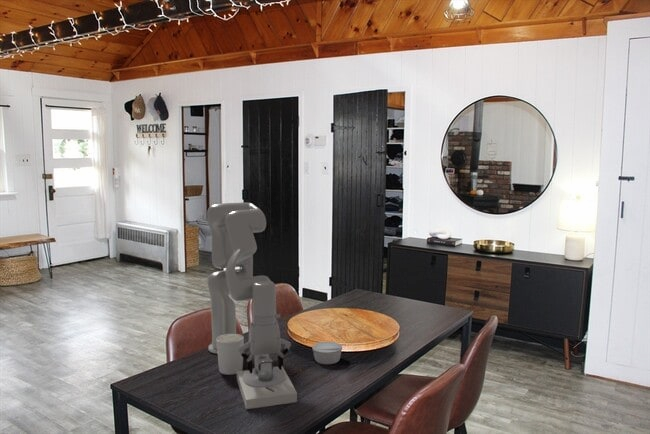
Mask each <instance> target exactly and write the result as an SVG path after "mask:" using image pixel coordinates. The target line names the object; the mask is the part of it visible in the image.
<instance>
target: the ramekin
mask: <svg viewBox="0 0 650 434" xmlns="http://www.w3.org/2000/svg"><path fill="white" fill-rule="evenodd" d="M342 350H343V346H342V345H341V344H340V343H339V342H336V341H335V342H334V341H318V342H316V343H315V344H313V346H312V352H313V357H314V360H315V361H316V362H317V363H318V364H321V365H333V364H336V363H338V362H339V361H340V359H341V355H342Z"/></svg>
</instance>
